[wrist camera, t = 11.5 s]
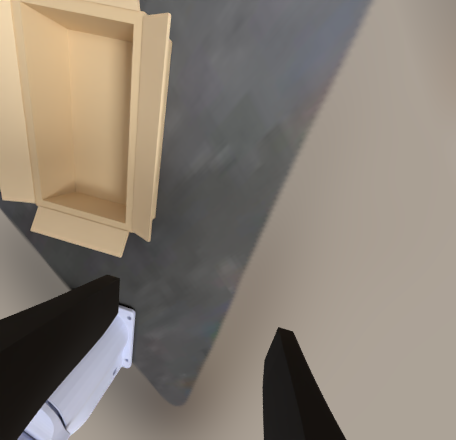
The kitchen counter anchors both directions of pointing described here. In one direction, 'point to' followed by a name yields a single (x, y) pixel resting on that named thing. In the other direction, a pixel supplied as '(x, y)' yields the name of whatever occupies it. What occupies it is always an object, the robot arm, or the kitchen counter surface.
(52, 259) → the kitchen counter surface
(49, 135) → the carton
